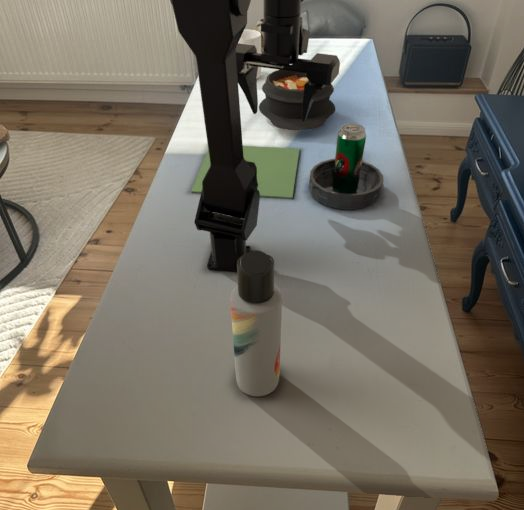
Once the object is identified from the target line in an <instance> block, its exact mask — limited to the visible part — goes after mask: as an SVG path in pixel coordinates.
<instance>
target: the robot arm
mask: <svg viewBox="0 0 524 510" xmlns="http://www.w3.org/2000/svg"><path fill="white" fill-rule="evenodd" d="M169 1H170V4H171V7H172V10H173V14H174V19H175V23H176V26H177V31H178V33H179V35H180V36H181V38H182V39H183V40H184V43H186V45H187V46H188V48H189V49H190V50H191V52H192V54H193V55H194V57H195V61H196V69H197V76H198V77H197V78H198V84H199V92H200V97H201V105H202V106H201V107H202V113H203V120H204V126H205V134H206V135H205V136H206V143H207V151H208V150H209V157H210V168H209V169H208V171H207V173H206V175H205V177H204V179H203V181H202V192H201V193H200V196H199V201H198V204H197V209H196V212H195V218H194V225H195V227H196V230H197V231H204V232H208V233H209V240H210V249H211V251H210V254H209V258H208V261H207V264H206V268H207V270H214V271H226V272H229V271H230V272H237V260H238V258H239V257H241V256H242V255H244V254H245V253H247V252H249V251H252V247H251V246H250V245H247V241H248V239H249V238H250V236H251V235H252V233H253V231H255V229H256V227H257V226H258V217H259V209H260V202H261V201H260V200H261V197H260V192H259V190H258V189H257V187H258V182H257V167H256V165H255V163H254V162H249V161H246V160H245V159H244V156H243V146H244V145H243V132H242V131H243V130H242V119H241V107H240V92H239V91H240V89H241V90H242V93H243V94H244V96H245V99H246V100H247V103H248V105H249V108H250V109H251V110H250V111H251V112H252V114H253V115H256V114H257V113H258V111H259V99H258V83H257V80H258V79H256V78H257V71H258V67H261V68H264V69H271V70H286V71H294V72H301V73H307V79H308V81H307V82H306V83H305V85H304V94H303V106H302V122H305V120H306V118H307V116H308V113H309V110H310V108H311V105H312V103H313V100H314V98H315V95H316V93H317V91H318V90H321V89H323V87H324V86H325V85H331V84H332V83H333V82H334V81H335V80H336V78H337V77H338V76H339V74H340V64H341V61H340V59H339V57H338V55H336V54H328V53H319V52H317V53H315V54H314V55H313V57H312V58H311V59H308V58H307V59H306V58H300V57H299V56H303V55H304V54H307V53H308V48H309V41H310V33H311V32H310V30H308V29H306V28H303V17H302V16H301V8H302V3H303V2H304V1H305V0H263V18H264V22H263V23H261V32H264V51H263V53H261V54H260V53H257V49H256V47H255V45H247V44H239V43H238V42H239V40H240V38H241V35H242V33H243V31H244V29H246V27H247V24H248V11H249V9H250V5H251V1H252V0H169ZM239 86H240V89H239Z"/></svg>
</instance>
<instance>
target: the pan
mask: <svg viewBox="0 0 524 510" xmlns="http://www.w3.org/2000/svg"><path fill="white" fill-rule="evenodd" d="M334 165H335V158H330V159H326V160H324V161H320V162H319V163H317V164H315V165H314V166H313V167H312V169H311V170H310V172H309V182H308V192H309V194H310V196H311V197H312V198H313V199H314V200H315V201H317V202H318V203H320V204H322V205H324V206H326V207H329V208H333V209H338V210H357V209H358V210H359V209H364V208H367V207H369V206H372V205H373V204H374V203H376V202H377V201H378V200H379V199H380V197H381V194H382V191H383V185H384V175H383V173H382V172H381V170H380V169H379V168H377V166H375V165H373V164H371V163H369V162H366V161H364V160H362V166H361V172H360V178H359V185H358V189H357V191H356V192H355V193H353V194H345V193H337V192H335V191H334V190H333V188H332V182H333V173H334Z"/></svg>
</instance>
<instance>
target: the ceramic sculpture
mask: <svg viewBox="0 0 524 510" xmlns="http://www.w3.org/2000/svg"><path fill="white" fill-rule="evenodd" d="M263 22H264V17H263V18H261V19H260V20H258V21H257V23H256V24H255V27H254V28H253V30H255V31H258V32H260V33H261V54H262V53H263V51H264V32H261V23H263Z"/></svg>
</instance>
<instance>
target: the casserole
mask: <svg viewBox="0 0 524 510" xmlns="http://www.w3.org/2000/svg"><path fill="white" fill-rule="evenodd" d="M307 81H308V79H307V73H301V72H294V71H286V70H279V69H275V70H274V71H272V72H270V73H269V74H268V75H267V76H266V78H265V82H264V83H263V84H262V87H261V90H262V92H263V93H264V95H265V98H264V99H262V100H261V102H260V103H258V111H259V112H260V113H261V114H262V115H263V116H264V117H265V118H267V119H268V120H269V122H270V123H271V124H272V126H274V127H276V128H278V129H283V130H288V131H310V130H315V129H319V128H321V127H323V126H325V124H326V122H327V120H328V119H329V118H331V116H333V115H334V114H335V112H336V106H335V104H334V102H333V101H332V100H331V96H332V95H333V93H334V92H335V88H334V86H333V84H332V83H331V85H325V86H324V87H323V89H321V90H318V91H317V93H316V95H315V98H314V100H313V103H312V105H311V108H310V110H309V113H308V116H307V118H306V120H305V122H302V106H303V94H304V85H305V83H306V82H307Z"/></svg>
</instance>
